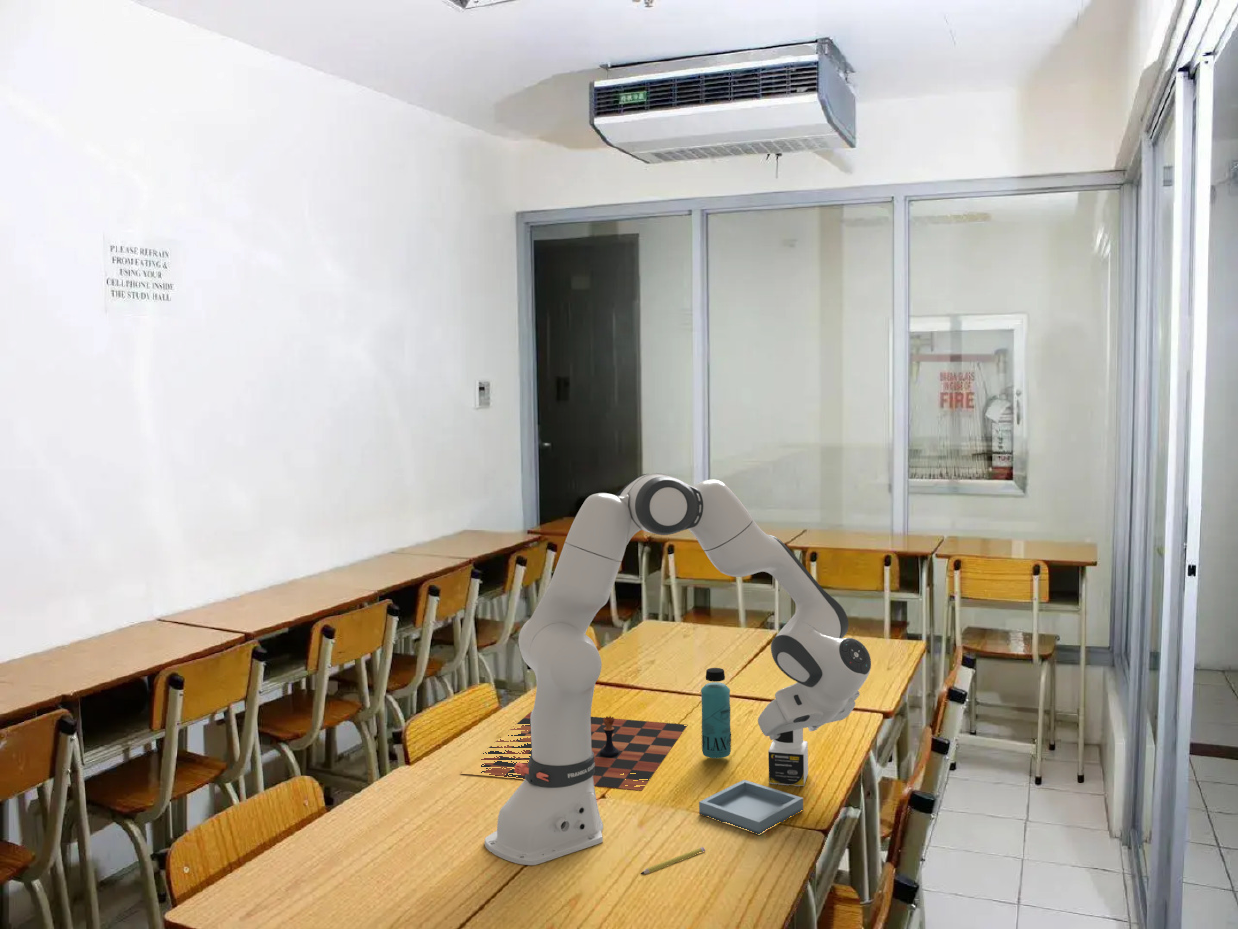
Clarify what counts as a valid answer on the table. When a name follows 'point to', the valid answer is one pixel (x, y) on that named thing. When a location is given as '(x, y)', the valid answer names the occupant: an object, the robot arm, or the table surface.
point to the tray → (751, 806)
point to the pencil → (672, 861)
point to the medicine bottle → (788, 759)
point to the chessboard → (609, 750)
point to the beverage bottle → (716, 716)
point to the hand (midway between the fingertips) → (791, 732)
